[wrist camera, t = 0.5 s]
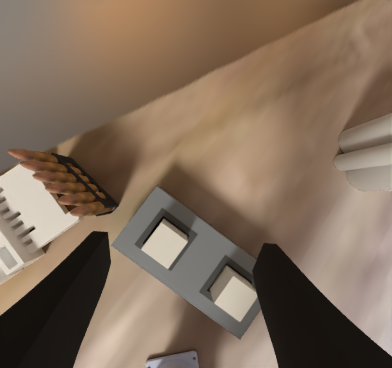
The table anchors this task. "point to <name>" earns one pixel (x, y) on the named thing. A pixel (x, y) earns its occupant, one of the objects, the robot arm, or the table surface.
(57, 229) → the organizer
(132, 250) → the block
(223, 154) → the table surface
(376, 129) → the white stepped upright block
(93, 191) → the ammunition clip
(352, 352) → the robot arm
